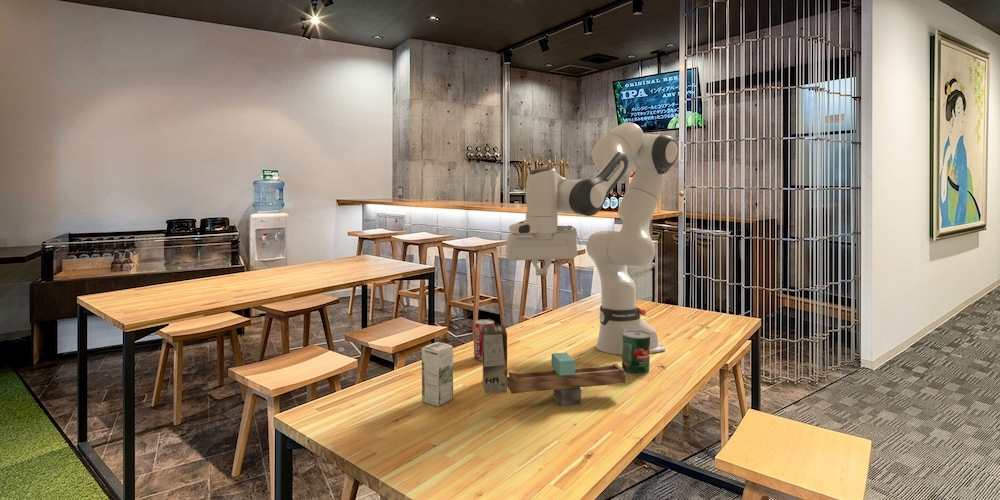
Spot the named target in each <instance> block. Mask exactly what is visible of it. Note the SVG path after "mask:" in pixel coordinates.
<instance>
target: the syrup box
mask: <svg viewBox="0 0 1000 500" xmlns="http://www.w3.org/2000/svg"><path fill="white" fill-rule="evenodd" d="M453 399H454V347H453V345H451V344H448V343H445V342H439V341H438V342H433V343H431V344H428V345H425V346H422V347H421V401H422V403H425V404H428V405H432V406H435V407H442V406H443V405H445V404H447V403H448V402H450V401H452V400H453Z"/></svg>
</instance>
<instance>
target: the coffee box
mask: <svg viewBox="0 0 1000 500" xmlns="http://www.w3.org/2000/svg"><path fill="white" fill-rule="evenodd" d="M482 358H483V361H482V384H483V385H482V386H483V393H484V394H501V393H502V394H503V393H504V394H506V393H508V387H507V377H508V332H507V329H506V326H505V325H503V324H499V325H498V324H495V325H491V326H482Z"/></svg>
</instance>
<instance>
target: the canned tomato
mask: <svg viewBox="0 0 1000 500" xmlns="http://www.w3.org/2000/svg"><path fill="white" fill-rule="evenodd" d="M622 345H623V347H622V355H621V357H622V358H621V361H622V362H621V367H622V368H623V369H624V373H625V374H629V375H633V376H643V375H644V376H645V375H647V374H649V373H650V360H651V359H650V356H651V353H650V334H649V333H647V332H644V331H636V330H631V331H625V332H623V344H622Z"/></svg>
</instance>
